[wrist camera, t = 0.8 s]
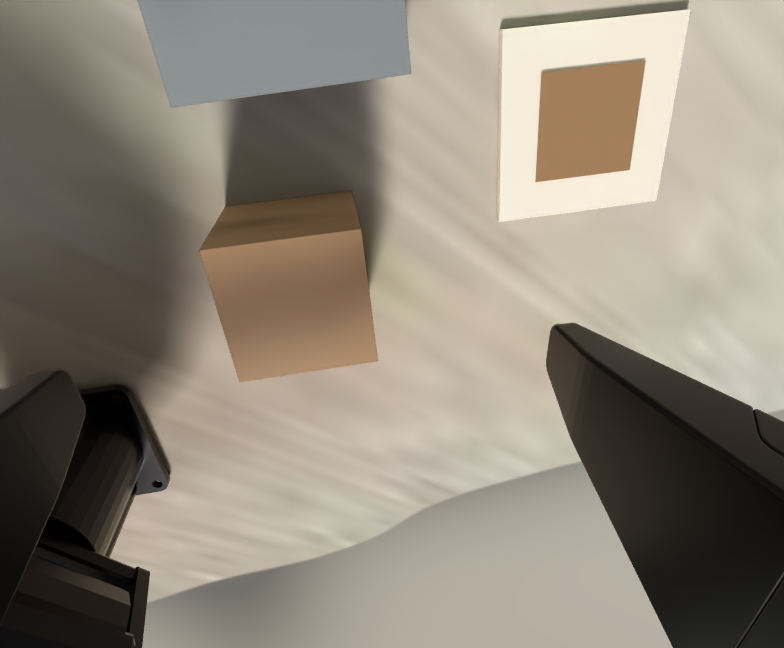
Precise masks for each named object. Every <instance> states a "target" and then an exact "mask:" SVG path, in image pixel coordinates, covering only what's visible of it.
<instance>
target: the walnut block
mask: <svg viewBox="0 0 784 648" xmlns="http://www.w3.org/2000/svg"><path fill="white" fill-rule="evenodd" d="M199 252H200V256H201V259H202V262H203V265H204V269H205V272H206V275H207V278H208V282H209V285H210V288H211V291H212V295H213V298H214V301H215V304H216V308H217V311H218V314H219V317H220V321H221V324H222V327H223V330H224V333H225V337H226V340H227V343H228V346H229V350H230V353H231V356H232V359H233V363H234V366H235V369H236V372H237V376H238V379H239V382H244V381H251V380H257V379H264V378H271V377H277V376H284V375H290V374H297V373H303V372H310V371H316V370H323V369H329V368H336V367H343V366H349V365H356V364H362V363H369V362H375V361H378V356H377V348H376V340H375V333H374V325H373V317H372V309H371V302H370V294H369V286H368V279H367V271H366V263H365V255H364V248H363V240H362V232H361V227H360V223H359V218H358V214H357V210H356V206H355V202H354V198H353V194H352V191H344V192H336V193H328V194H321V195H313V196H305V197H297V198H289V199H282V200H274V201H266V202H258V203H250V204H243V205H235V206H227V207H225V208H224V210H223V212H222V213H221V215H220V217H219V218H218V220H217V222H216V223H215V225H214V227H213V228H212V230H211V231H210V233H209V235H208V236H207V238H206V240H205V241H204V243H203V245H202V246H201V248H200V250H199Z"/></svg>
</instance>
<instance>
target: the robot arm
mask: <svg viewBox="0 0 784 648" xmlns="http://www.w3.org/2000/svg"><path fill="white" fill-rule="evenodd" d="M546 367H547V372H548V375H549V378H550V381H551V384H552V387H553V389H554V392H555V395H556V398H557V401H558V404H559V407H560V410H561V412H562V415H563V418H564V421H565V424H566V427H567V429H568V432H569V435H570V437H571V440H572V442H573V444H574V446H575V448H576V451H577V453H578V455H579V457H580V459H581V461H582V463H583V465H584V467H585V469H586V471H587V473H588V475H589V477H590V479H591V481H592V483H593V485H594V487H595V489H596V491H597V493H598V495H599V497H600V500H601V502H602V504H603V506H604V508H605V510H606V512H607V514H608V516H609V518H610V520H611V522H612V524H613V526H614V528H615V530H616V532H617V534H618V536H619V538H620V540H621V542H622V544H623V547H624V549H625V551H626V553H627V555H628V557H629V559H630V561H631V562H632V565H633V567H634V569H635V571H636V573H637V575H638V577H639V579H640V581H641V583H642V585H643V587H644V589H645V591H646V593H647V596H648V598H649V600H650V601H651V604H652V606H653V608H654V610H655V612H656V614H657V616H658V618H659V620H660V622H661V624H662V626H663V628H664V630H665V632H666V634H667V636H668V638H669V640H670V642H671V645H672V647H673V648H784V422H783V421H781V420H779V419H777V418H775V417H773V416H771V415H769V414H766V413H764V412H762V411H760V410H758V409H755V410H753V408H752V407H751V406H749V405H747V404H745V403H743V402H741V401H739V400H737V399H735V398H733V397H730V396H728V395H726V394H724V393H722V392H720V391H718V390H716V389H713V388H711V387H709V386H707V385H705V384H703V383H701V382H699V381H697V380H694V379H692V378H690V377H688V376H686V375H684V374H682V373H680V372H678V371H675V370H673V369H671V368H669V367H667V366H665V365H663V364H661V363H659V362H656V361H654V360H652V359H650V358H648V357H646V356H644V355H642V354H640V353H637V352H635V351H633V350H631V349H629V348H627V347H625V346H623V345H621V344H618V343H616V342H614V341H612V340H610V339H608V338H606V337H604V336H602V335H599V334H597V333H595V332H593V331H591V330H589V329H587V328H585V327H583V326H580V325H578V324H576V323H565V324H556V325H554V326H553V327H552V328H551V331H550V337H549V344H548V351H547V358H546ZM114 394H118V395H120V396H122V398H118V397H116V396H115V395H114ZM158 481H161V482H158ZM169 481H170V477H169V474H168V472H167V470H166V468H165V466H164V463H163V461H162V459H161V457H160V455H159V452H158V450H157V448H156V446H155V443H154V441H153V439H152V437H151V435H150V432H149V430H148V428H147V426H146V423H145V421H144V419H143V417H142V415H141V412H140V410H139V408H138V406H137V404H136V401H135V399H134V397H133V395H132V392H131V391H130V389H129V388H127V387H126V386H123V385H111V386H104V387H98V388H91V389H84V390H77V388H76V386H75V384H74V382H73V380H72V378H71V376H70V375H69V373H68V372H66V371H65V370H62V369H58V370H47V371H40V372H37V373H35V374H33V375H31V376H29V377H27V378H25V379H24V380H22V381H20V382H18V383H16V384H14V385H12V386H10V387H9V388H7V389H5V390H3V391H1V392H0V648H142V641H143V633H144V623H145V614H146V605H147V596H148V586H149V577H150V571H147V570H145V569H142V568H140V567H136V568H133V567H131V566H128V565H126V564H123V563H121V562H118V561H116V560H113V559H111V558H109V557H110V555H111V553H112V550H113V548H114V545H115V543H116V540H117V538H118V536H119V533H120V531H121V528H122V526H123V523H124V521H125V519H126V516H127V514H128V511H129V509H130V506H131V504H132V502H133V499H134V497H135V495H140V494H146V493H152V492H158V491H162V490H165V489H166V488H167V486H168V483H169Z"/></svg>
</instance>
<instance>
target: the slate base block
mask: <svg viewBox="0 0 784 648" xmlns="http://www.w3.org/2000/svg"><path fill="white" fill-rule="evenodd" d="M137 1H138V4H139V7H140V11H141V14H142V17H143V20H144V23H145V26H146V30H147V33H148V36H149V39H150V42H151V45H152V48H153V52H154V55H155V58H156V61H157V64H158V67H159V71H160V74H161V77H162V80H163V83H164V86H165V90H166V93H167V96H168V99H169V102H170V105H171V108H173V107H180V106H187V105H194V104H202V103H209V102H216V101H223V100H230V99H237V98H244V97H251V96H259V95H266V94H273V93H280V92H287V91H294V90H301V89H308V88H315V87H323V86H330V85H337V84H344V83H351V82H358V81H365V80H372V79H379V78H387V77H394V76H401V75H408V74H411V65H410V53H409V42H408V31H407V19H406V8H405V0H137Z"/></svg>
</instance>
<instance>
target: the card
mask: <svg viewBox="0 0 784 648" xmlns="http://www.w3.org/2000/svg"><path fill="white" fill-rule="evenodd" d="M689 15H690V9H688V10H679V11H670V12H660V13H651V14H641V15H632V16H623V17H613V18H604V19H595V20H585V21H576V22H567V23H557V24H548V25H538V26H529V27H520V28H510V29H501V30H500V52H499V119H498V187H497V220H498V221H499V222H502V221H509V220H517V219H524V218H531V217H539V216H546V215H554V214H561V213H568V212H576V211H583V210H591V209H598V208H606V207H613V206H620V205H628V204H635V203H643V202H650V201H656V199H657V194H658V188H659V183H660V177H661V172H662V166H663V160H664V155H665V149H666V144H667V138H668V132H669V127H670V121H671V116H672V110H673V104H674V99H675V93H676V88H677V82H678V76H679V71H680V65H681V60H682V54H683V48H684V43H685V37H686V32H687V26H688V20H689Z"/></svg>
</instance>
